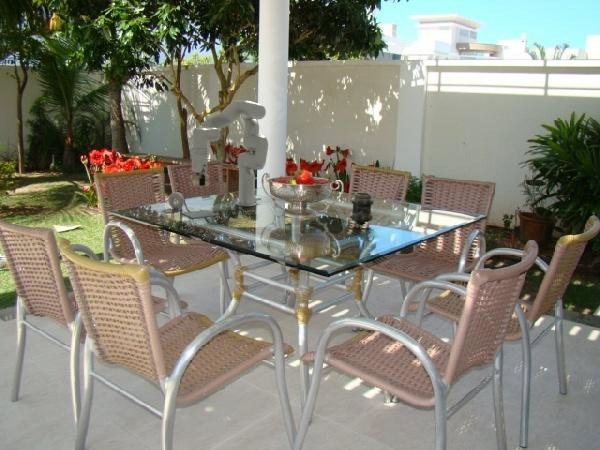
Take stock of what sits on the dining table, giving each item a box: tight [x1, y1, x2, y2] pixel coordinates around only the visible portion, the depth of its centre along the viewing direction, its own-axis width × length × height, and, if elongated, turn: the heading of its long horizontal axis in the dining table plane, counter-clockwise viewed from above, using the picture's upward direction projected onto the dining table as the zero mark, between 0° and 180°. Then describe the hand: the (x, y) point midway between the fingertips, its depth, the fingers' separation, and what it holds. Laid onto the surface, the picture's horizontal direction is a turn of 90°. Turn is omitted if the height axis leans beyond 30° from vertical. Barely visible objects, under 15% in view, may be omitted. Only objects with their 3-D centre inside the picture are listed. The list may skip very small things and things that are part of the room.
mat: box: [180, 209, 220, 220], centre depth 307 cm, size 16×14×1 cm
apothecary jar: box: [349, 191, 374, 225], centre depth 294 cm, size 12×12×18 cm
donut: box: [168, 191, 185, 210], centre depth 318 cm, size 10×3×10 cm, turn 67°
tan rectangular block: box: [189, 174, 210, 188], centre depth 303 cm, size 4×9×6 cm, turn 128°
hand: (200, 184), depth 303 cm, fingers closed on tan rectangular block, 4 cm apart
